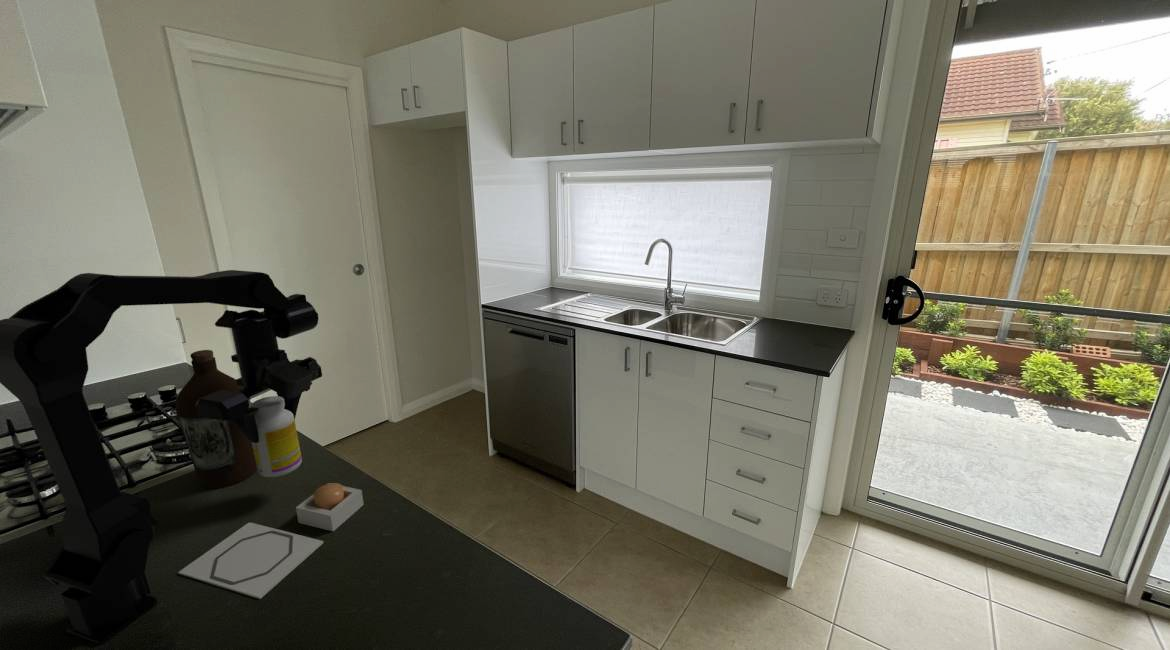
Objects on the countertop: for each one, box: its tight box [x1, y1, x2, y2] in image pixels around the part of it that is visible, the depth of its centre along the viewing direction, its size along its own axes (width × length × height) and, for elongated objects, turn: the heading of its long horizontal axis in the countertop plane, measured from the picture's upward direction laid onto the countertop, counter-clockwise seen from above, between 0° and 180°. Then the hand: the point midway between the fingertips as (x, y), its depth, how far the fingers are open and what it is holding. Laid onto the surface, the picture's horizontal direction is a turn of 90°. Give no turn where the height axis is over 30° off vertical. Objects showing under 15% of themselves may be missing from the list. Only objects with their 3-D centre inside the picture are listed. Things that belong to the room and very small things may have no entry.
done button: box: [312, 482, 345, 511], centre depth 80 cm, size 4×4×2 cm
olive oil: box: [174, 349, 258, 489], centre depth 88 cm, size 11×11×25 cm
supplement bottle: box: [251, 395, 303, 478], centre depth 82 cm, size 7×7×13 cm
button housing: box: [295, 482, 364, 532], centre depth 81 cm, size 7×7×3 cm
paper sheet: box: [177, 522, 324, 600], centre depth 71 cm, size 11×15×1 cm
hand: (273, 432), depth 82 cm, fingers closed on supplement bottle, 7 cm apart
